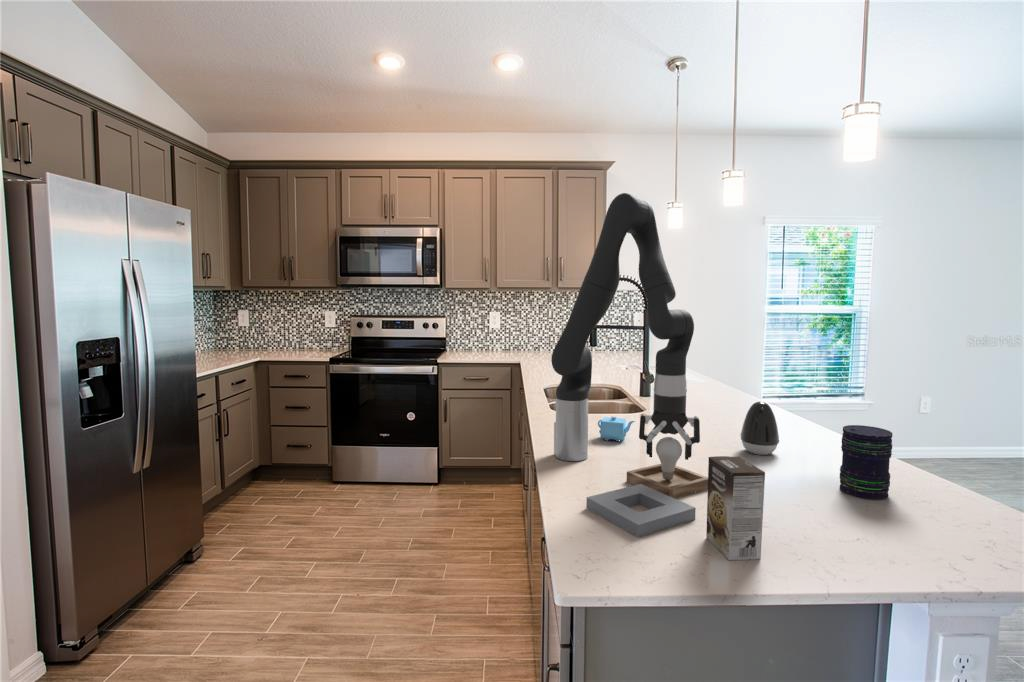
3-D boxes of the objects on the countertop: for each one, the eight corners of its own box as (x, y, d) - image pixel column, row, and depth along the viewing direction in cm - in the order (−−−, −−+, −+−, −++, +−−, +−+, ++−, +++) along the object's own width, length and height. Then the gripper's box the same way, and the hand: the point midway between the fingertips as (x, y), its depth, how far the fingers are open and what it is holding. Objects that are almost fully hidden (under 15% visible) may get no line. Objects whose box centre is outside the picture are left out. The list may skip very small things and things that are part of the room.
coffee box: (704, 537, 101) (707, 456, 100) (736, 536, 102) (739, 455, 101) (727, 561, 92) (730, 472, 91) (762, 559, 93) (766, 471, 91)
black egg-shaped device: (740, 455, 152) (742, 404, 151) (739, 445, 162) (741, 397, 160) (779, 459, 148) (782, 406, 147) (776, 449, 158) (778, 399, 157)
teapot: (636, 439, 170) (636, 416, 169) (633, 444, 164) (634, 420, 163) (599, 435, 174) (599, 413, 173) (595, 440, 168) (596, 417, 168)
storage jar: (881, 487, 127) (885, 427, 126) (895, 502, 118) (900, 437, 116) (834, 482, 130) (837, 423, 129) (844, 497, 121) (848, 433, 120)
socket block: (586, 508, 115) (586, 497, 115) (640, 494, 123) (640, 483, 123) (638, 537, 102) (638, 524, 101) (695, 519, 110) (695, 507, 109)
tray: (626, 481, 132) (626, 471, 131) (666, 471, 139) (666, 462, 138) (669, 500, 120) (669, 489, 119) (710, 488, 127) (710, 478, 126)
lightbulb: (669, 487, 125) (671, 442, 124) (649, 479, 130) (651, 436, 129) (685, 482, 128) (688, 438, 127) (666, 474, 133) (667, 432, 132)
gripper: (699, 390, 129) (697, 455, 130) (640, 388, 133) (638, 451, 134) (702, 396, 122) (700, 464, 123) (639, 393, 125) (638, 460, 127)
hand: (668, 457), depth 129 cm, fingers open, 8 cm apart
